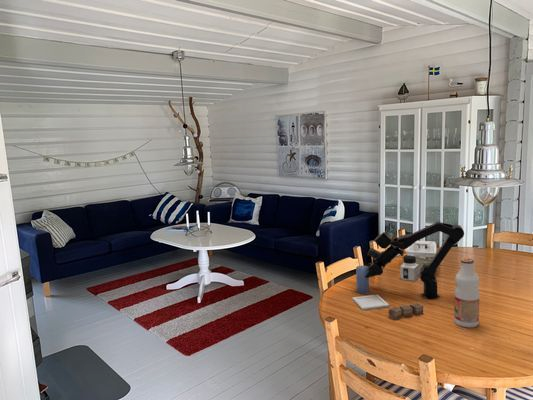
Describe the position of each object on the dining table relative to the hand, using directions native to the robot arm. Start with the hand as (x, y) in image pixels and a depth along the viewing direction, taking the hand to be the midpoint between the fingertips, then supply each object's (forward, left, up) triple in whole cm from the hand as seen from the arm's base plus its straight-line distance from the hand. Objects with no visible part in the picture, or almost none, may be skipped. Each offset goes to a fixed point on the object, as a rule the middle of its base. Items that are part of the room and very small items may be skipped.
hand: (366, 274), depth 212 cm
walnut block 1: (-32, +4, -10) cm, 33 cm away
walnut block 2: (-32, -2, -10) cm, 33 cm away
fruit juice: (-48, -20, -10) cm, 53 cm away
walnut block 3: (-32, -7, -10) cm, 34 cm away
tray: (-14, +6, -9) cm, 18 cm away
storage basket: (+18, -46, -10) cm, 50 cm away
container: (+8, -31, -10) cm, 34 cm away
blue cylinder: (+1, +2, -9) cm, 10 cm away
